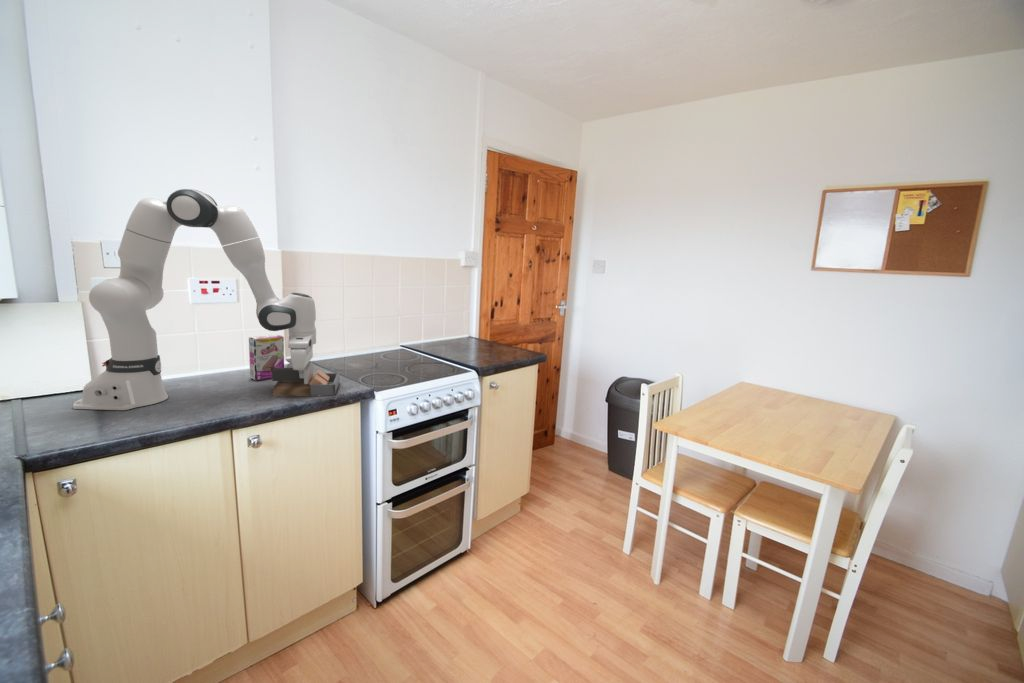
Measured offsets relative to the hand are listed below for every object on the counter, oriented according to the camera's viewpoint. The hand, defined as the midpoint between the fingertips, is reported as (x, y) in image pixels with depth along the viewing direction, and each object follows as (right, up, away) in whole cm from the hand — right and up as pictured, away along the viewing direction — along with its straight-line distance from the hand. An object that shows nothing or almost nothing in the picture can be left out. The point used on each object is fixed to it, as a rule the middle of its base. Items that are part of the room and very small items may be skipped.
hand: (303, 376), depth 160 cm
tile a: (+5, -4, -1) cm, 6 cm away
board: (-3, -5, 0) cm, 6 cm away
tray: (+7, -5, +3) cm, 9 cm away
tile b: (+3, -2, +5) cm, 6 cm away
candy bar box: (-20, -2, +13) cm, 24 cm away
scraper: (-4, -1, -1) cm, 5 cm away
